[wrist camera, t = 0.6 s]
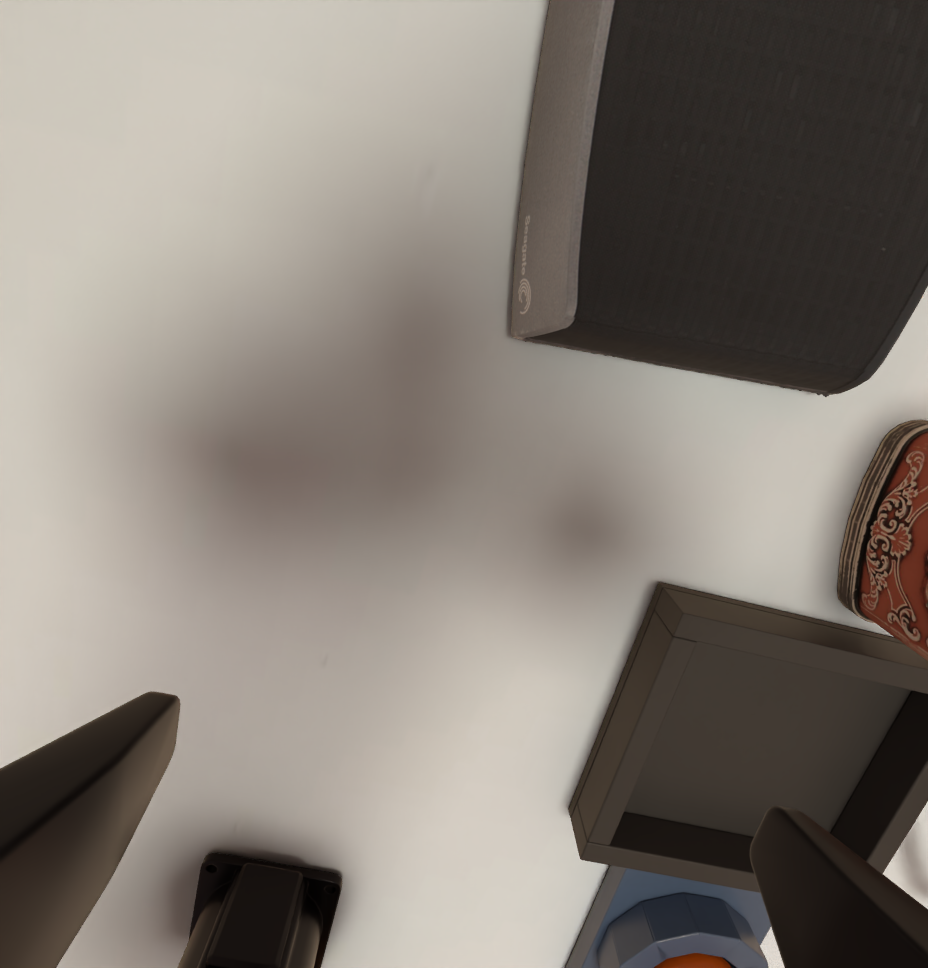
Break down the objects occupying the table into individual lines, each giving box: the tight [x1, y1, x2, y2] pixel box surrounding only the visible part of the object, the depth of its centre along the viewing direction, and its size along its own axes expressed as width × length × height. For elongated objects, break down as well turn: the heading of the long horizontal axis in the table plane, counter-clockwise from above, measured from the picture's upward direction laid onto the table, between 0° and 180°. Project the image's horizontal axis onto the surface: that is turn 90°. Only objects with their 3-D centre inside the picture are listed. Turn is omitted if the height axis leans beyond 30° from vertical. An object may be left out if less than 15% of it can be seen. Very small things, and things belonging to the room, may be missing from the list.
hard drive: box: [511, 0, 928, 397], centre depth 15 cm, size 13×19×4 cm
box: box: [566, 865, 771, 968], centre depth 26 cm, size 10×8×3 cm
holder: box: [569, 582, 928, 893], centre depth 23 cm, size 12×13×2 cm
